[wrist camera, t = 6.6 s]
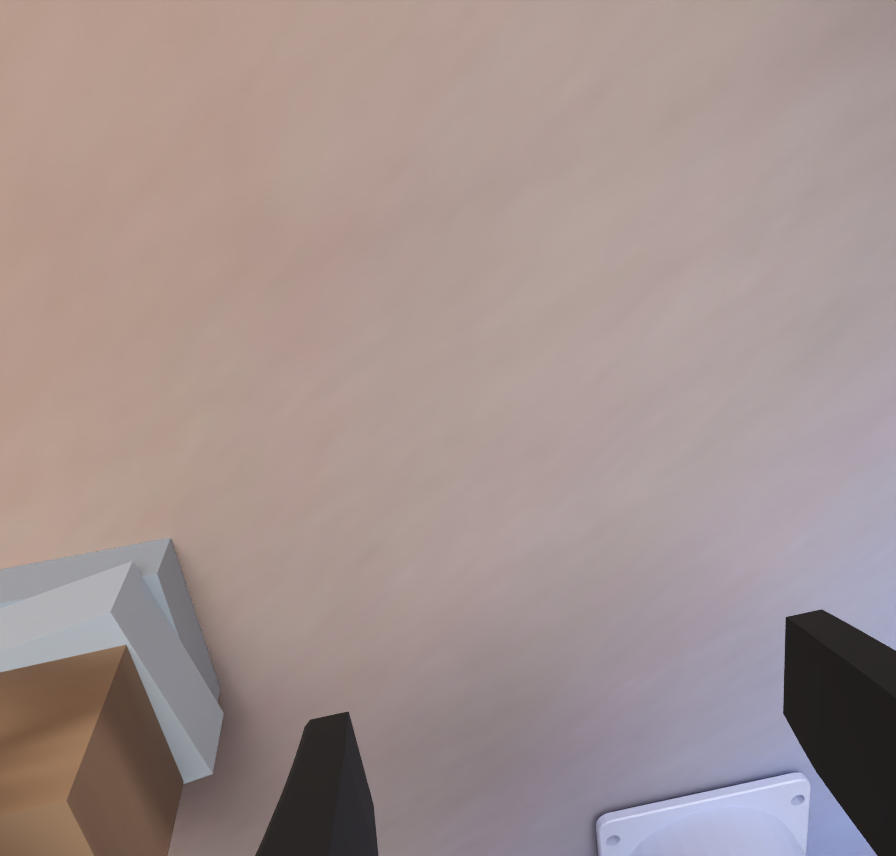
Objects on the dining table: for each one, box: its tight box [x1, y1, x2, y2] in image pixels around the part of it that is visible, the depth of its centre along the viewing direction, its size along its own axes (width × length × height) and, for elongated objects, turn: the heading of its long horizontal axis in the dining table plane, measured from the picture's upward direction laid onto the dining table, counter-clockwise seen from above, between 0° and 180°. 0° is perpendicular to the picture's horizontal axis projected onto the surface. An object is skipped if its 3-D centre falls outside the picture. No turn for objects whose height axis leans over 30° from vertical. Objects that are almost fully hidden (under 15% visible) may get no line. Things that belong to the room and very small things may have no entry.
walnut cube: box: [0, 645, 184, 856], centre depth 17 cm, size 4×4×4 cm
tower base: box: [0, 538, 220, 703], centre depth 22 cm, size 6×6×2 cm
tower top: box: [0, 561, 224, 784], centre depth 20 cm, size 6×6×2 cm
